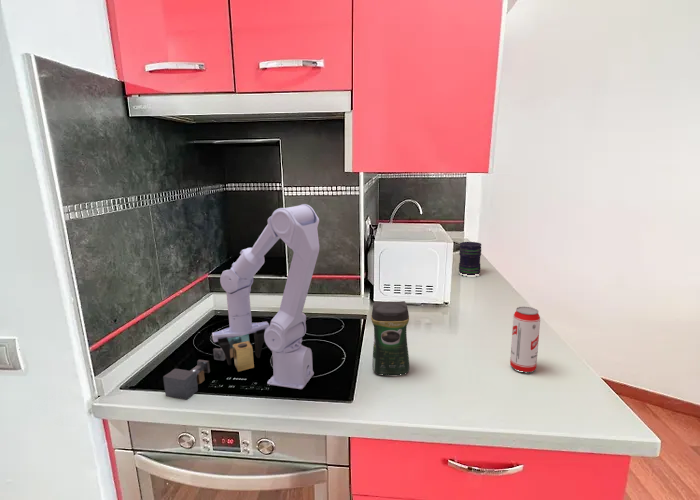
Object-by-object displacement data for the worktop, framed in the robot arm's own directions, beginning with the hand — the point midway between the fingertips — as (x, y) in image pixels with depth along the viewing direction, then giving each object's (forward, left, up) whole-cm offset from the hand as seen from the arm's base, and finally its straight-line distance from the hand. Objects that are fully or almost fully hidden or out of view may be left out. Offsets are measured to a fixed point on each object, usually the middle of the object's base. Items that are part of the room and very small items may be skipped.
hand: (243, 360), depth 108 cm
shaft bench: (+8, +4, -2) cm, 8 cm away
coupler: (0, 0, -2) cm, 2 cm away
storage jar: (-58, -105, -2) cm, 120 cm away
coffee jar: (-38, -8, -2) cm, 39 cm away
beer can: (-72, -17, -2) cm, 74 cm away
